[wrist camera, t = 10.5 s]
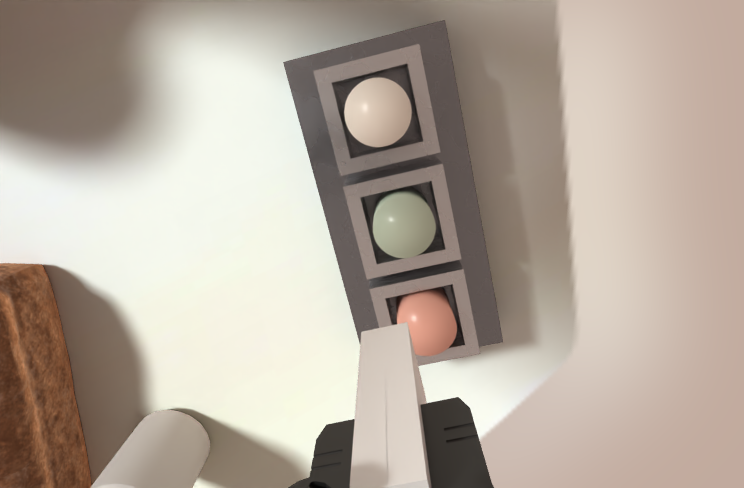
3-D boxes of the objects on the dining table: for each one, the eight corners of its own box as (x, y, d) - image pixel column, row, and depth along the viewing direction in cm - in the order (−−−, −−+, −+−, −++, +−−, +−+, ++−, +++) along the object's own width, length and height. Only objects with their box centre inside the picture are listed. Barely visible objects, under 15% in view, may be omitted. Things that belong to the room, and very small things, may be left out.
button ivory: (342, 88, 36) (336, 86, 31) (401, 73, 35) (403, 69, 31) (357, 147, 37) (353, 154, 32) (413, 133, 36) (417, 138, 32)
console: (290, 65, 38) (272, 58, 32) (440, 26, 37) (451, 11, 31) (367, 352, 45) (365, 392, 39) (495, 326, 44) (513, 363, 38)
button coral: (390, 286, 40) (391, 309, 36) (443, 275, 40) (450, 296, 35) (402, 333, 41) (404, 361, 37) (453, 323, 41) (461, 349, 36)
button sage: (368, 193, 38) (366, 205, 33) (423, 180, 37) (428, 190, 33) (380, 245, 39) (380, 264, 35) (434, 233, 39) (441, 250, 34)
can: (209, 404, 47) (153, 501, 36) (217, 467, 50) (167, 578, 38) (133, 404, 48) (54, 500, 36) (145, 467, 50) (73, 577, 38)
